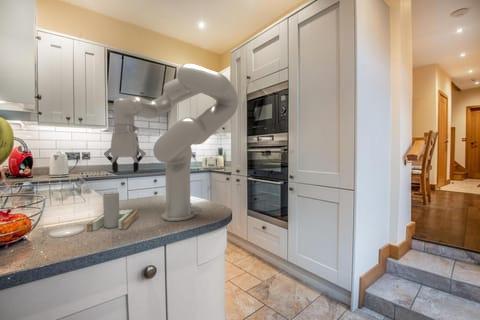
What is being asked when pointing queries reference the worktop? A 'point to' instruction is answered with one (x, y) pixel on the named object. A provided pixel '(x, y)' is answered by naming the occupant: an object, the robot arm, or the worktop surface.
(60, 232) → the ceramic coaster
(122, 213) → the sliding holder
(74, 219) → the worktop surface
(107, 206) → the beverage can
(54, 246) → the worktop surface
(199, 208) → the robot arm
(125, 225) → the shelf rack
